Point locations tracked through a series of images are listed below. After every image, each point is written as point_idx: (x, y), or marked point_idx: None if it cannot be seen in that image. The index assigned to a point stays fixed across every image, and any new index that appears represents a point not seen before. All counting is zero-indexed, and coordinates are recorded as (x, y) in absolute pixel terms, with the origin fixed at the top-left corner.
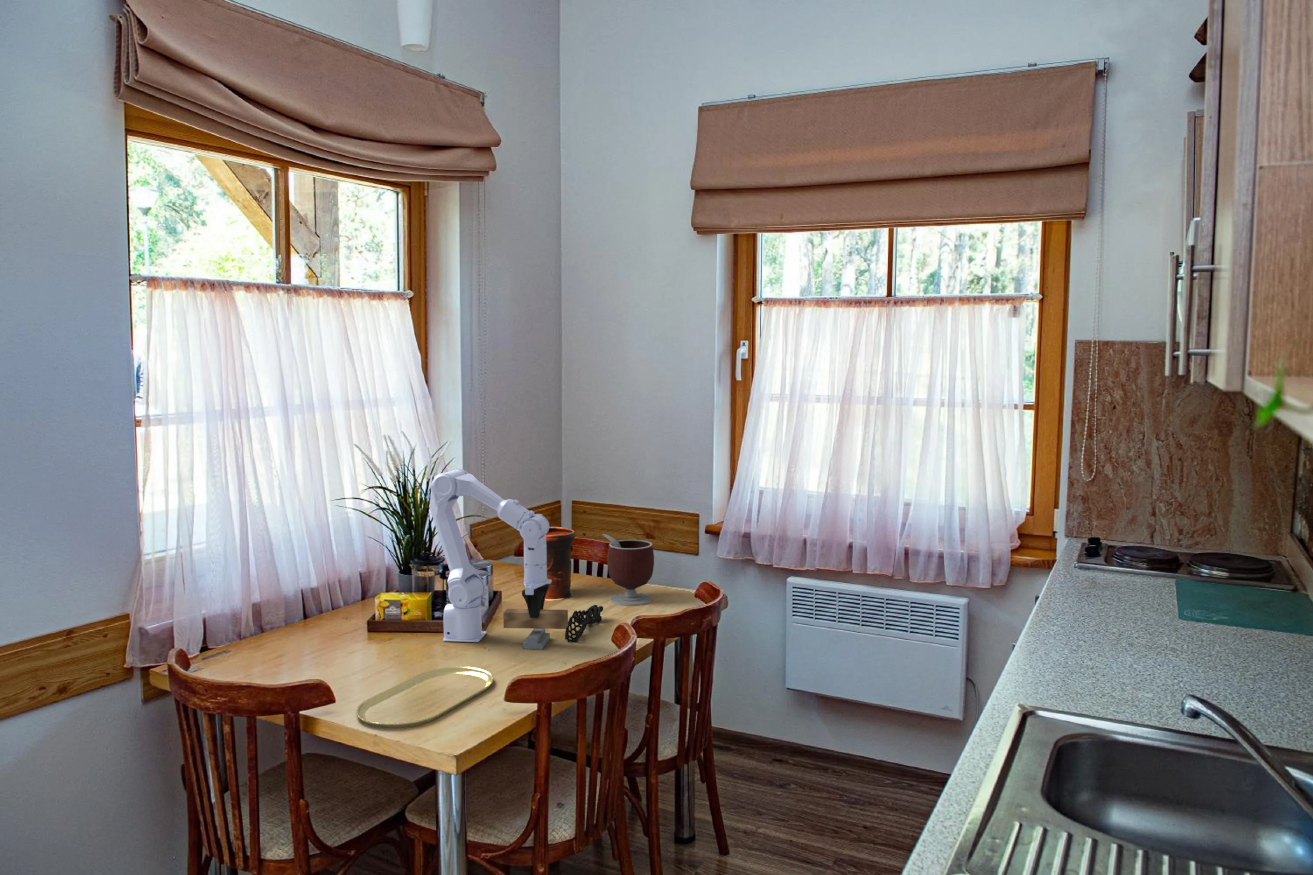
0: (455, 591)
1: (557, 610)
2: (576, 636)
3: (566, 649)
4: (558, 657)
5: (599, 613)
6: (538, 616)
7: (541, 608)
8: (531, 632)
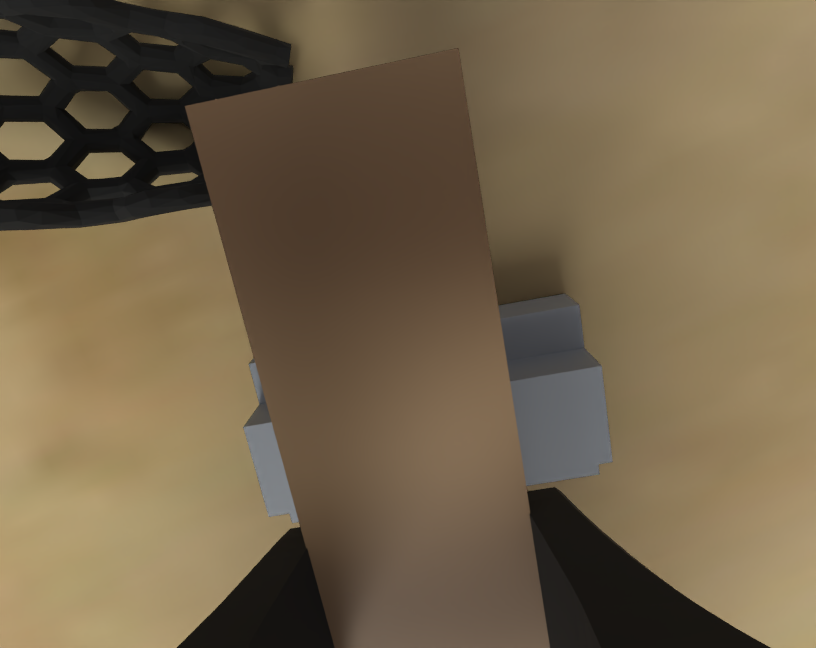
0: None
1: (291, 287)
2: (276, 45)
3: (510, 76)
4: (751, 58)
5: None
6: (560, 491)
7: (306, 573)
8: None
